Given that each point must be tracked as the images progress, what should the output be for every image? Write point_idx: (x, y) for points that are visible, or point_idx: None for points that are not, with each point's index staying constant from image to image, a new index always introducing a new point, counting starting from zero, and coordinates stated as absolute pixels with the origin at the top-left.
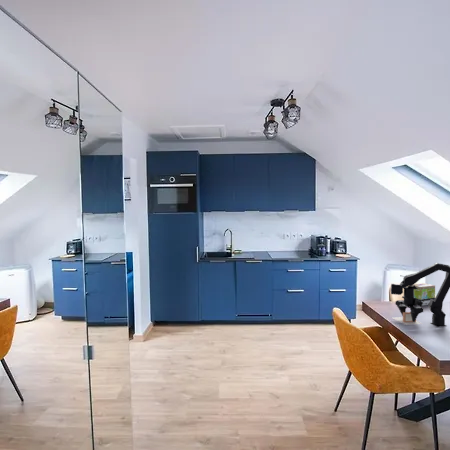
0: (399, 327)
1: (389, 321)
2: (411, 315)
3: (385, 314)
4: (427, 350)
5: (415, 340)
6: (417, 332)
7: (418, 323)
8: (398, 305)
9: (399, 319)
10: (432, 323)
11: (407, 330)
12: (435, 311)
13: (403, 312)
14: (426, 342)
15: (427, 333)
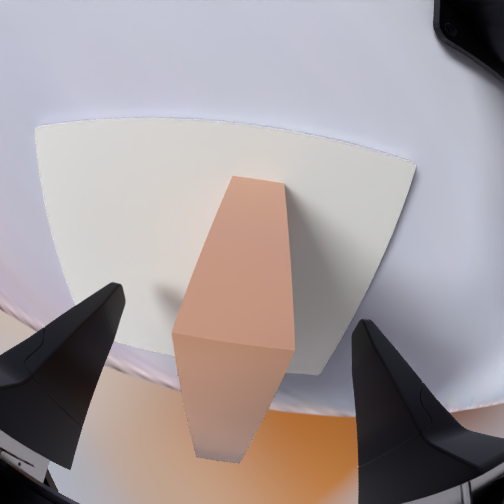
0: (323, 406)
1: (175, 384)
2: (366, 448)
3: (3, 282)
4: (496, 403)
5: (460, 407)
6: (450, 370)
7: (373, 226)
8: (47, 471)
9: (140, 317)
10: (466, 28)
11: None
12: None
13: (206, 457)
14: (496, 386)
15: (501, 330)
